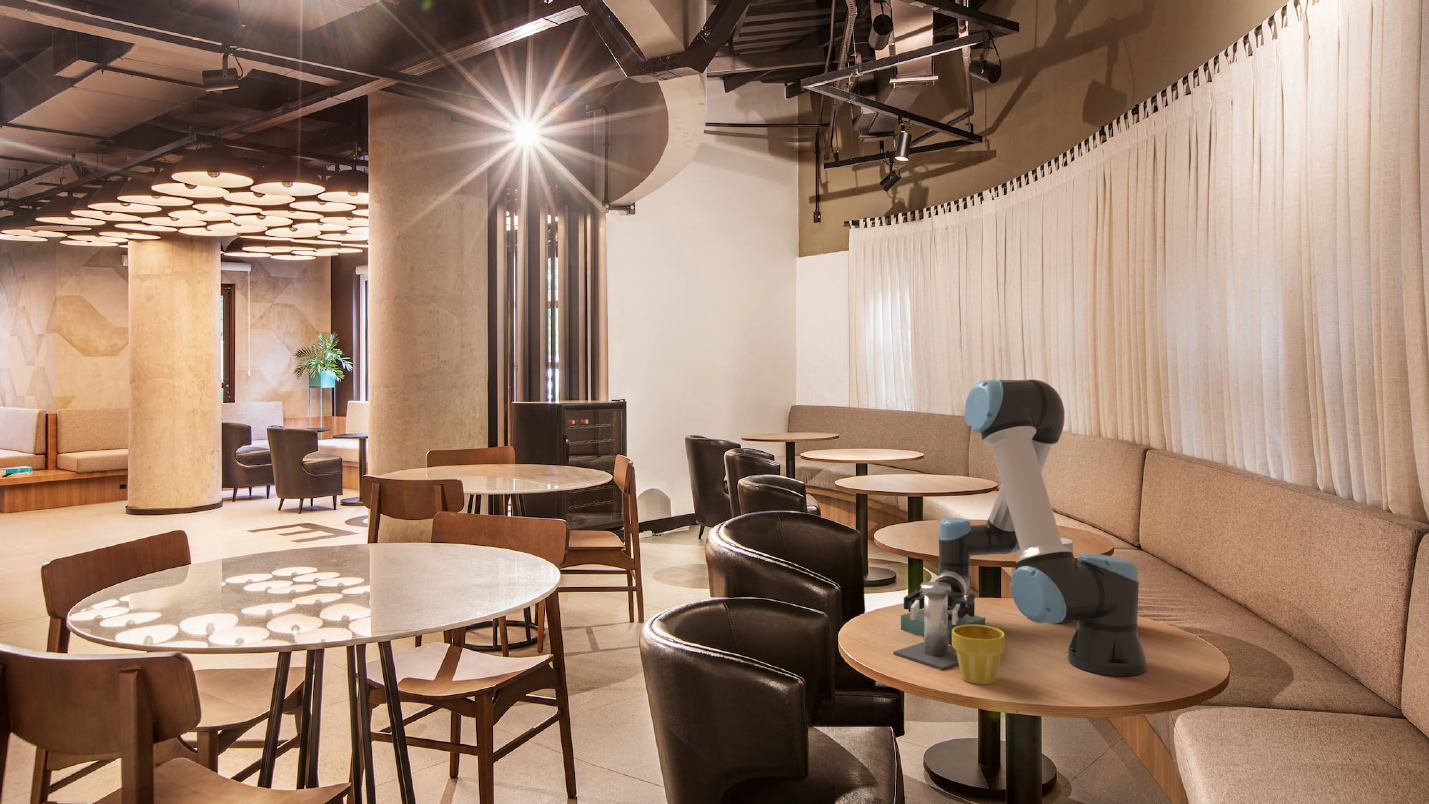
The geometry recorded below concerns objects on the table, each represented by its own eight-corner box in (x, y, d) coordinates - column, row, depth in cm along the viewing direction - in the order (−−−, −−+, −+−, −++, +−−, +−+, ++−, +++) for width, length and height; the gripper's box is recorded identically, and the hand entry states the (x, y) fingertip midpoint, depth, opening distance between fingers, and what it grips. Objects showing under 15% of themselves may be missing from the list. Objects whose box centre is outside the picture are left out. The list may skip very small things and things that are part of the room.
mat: (978, 657, 186) (978, 654, 186) (942, 670, 178) (942, 667, 178) (930, 642, 196) (930, 640, 196) (893, 654, 188) (893, 651, 188)
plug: (957, 653, 187) (956, 585, 186) (939, 659, 183) (938, 590, 182) (933, 646, 192) (932, 580, 191) (915, 652, 188) (914, 584, 187)
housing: (985, 632, 204) (985, 618, 204) (949, 644, 195) (949, 629, 195) (936, 619, 215) (936, 605, 215) (900, 629, 206) (900, 615, 206)
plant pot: (946, 682, 171) (946, 634, 171) (957, 667, 180) (957, 621, 180) (999, 692, 166) (1000, 642, 166) (1008, 675, 175) (1008, 628, 175)
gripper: (993, 611, 199) (983, 639, 179) (904, 601, 208) (884, 627, 187) (994, 579, 199) (983, 604, 178) (904, 571, 207) (884, 593, 187)
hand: (932, 616), depth 183 cm, fingers open, 8 cm apart
